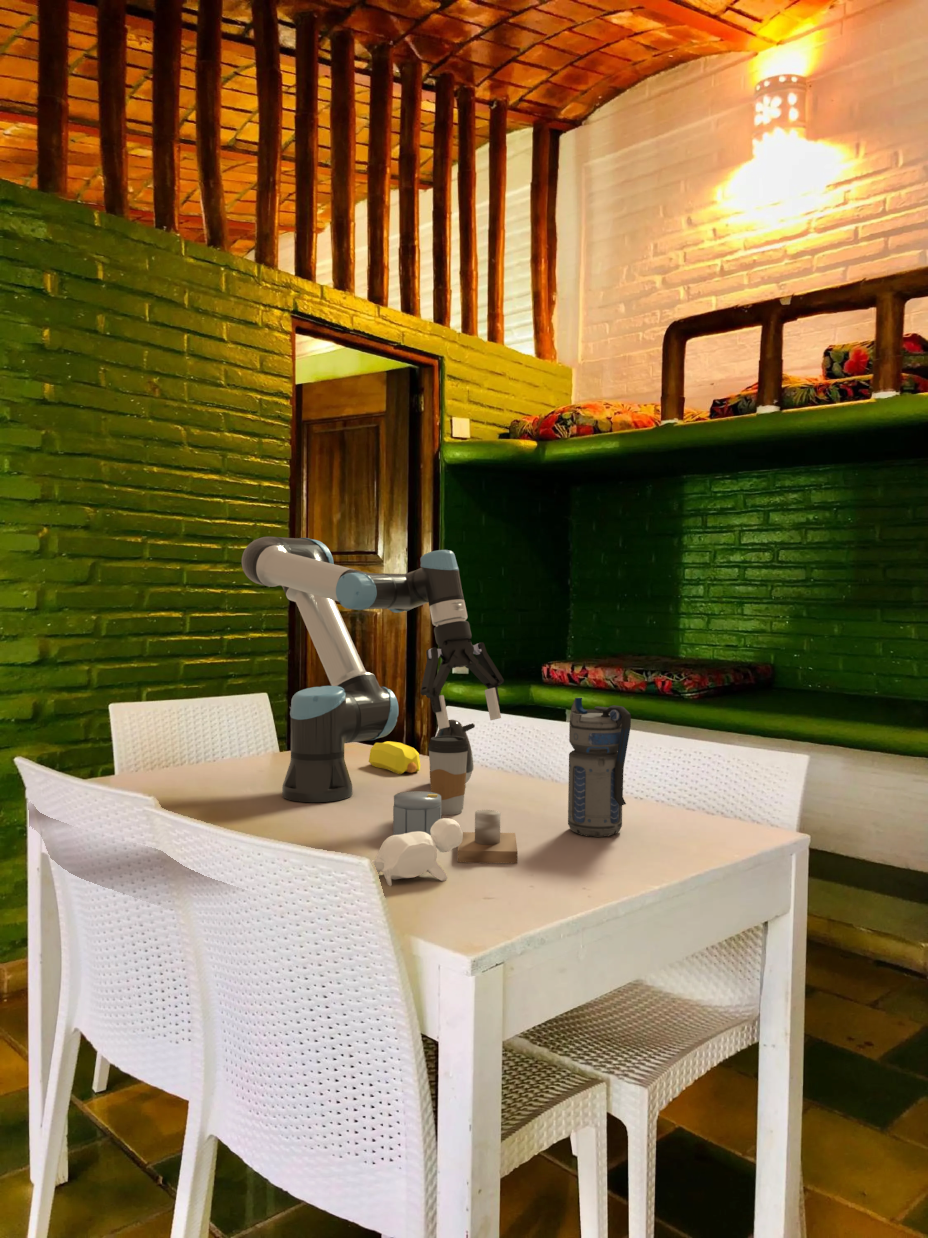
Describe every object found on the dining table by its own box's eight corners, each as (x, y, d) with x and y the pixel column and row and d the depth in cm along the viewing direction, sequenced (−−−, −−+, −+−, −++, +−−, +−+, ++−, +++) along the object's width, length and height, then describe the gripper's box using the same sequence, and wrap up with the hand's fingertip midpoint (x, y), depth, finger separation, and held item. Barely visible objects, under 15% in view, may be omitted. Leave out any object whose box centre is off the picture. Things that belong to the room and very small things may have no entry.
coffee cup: (474, 809, 200) (475, 737, 199) (457, 818, 192) (458, 743, 192) (438, 805, 203) (439, 734, 203) (420, 813, 196) (420, 739, 195)
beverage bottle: (609, 844, 174) (611, 706, 173) (554, 830, 184) (555, 699, 183) (643, 834, 181) (645, 701, 180) (588, 821, 191) (590, 695, 190)
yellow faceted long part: (401, 777, 233) (427, 774, 237) (401, 750, 232) (427, 747, 237) (362, 765, 247) (388, 762, 252) (362, 739, 247) (388, 737, 251)
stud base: (457, 862, 162) (458, 821, 161) (459, 843, 174) (459, 804, 173) (517, 863, 162) (517, 821, 161) (515, 844, 174) (515, 805, 173)
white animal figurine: (400, 907, 148) (480, 860, 155) (381, 859, 147) (463, 813, 153) (379, 891, 156) (457, 847, 162) (361, 845, 154) (440, 802, 160)
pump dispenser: (474, 790, 219) (474, 723, 218) (428, 789, 219) (428, 722, 218) (474, 780, 229) (475, 716, 228) (430, 780, 229) (431, 716, 228)
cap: (391, 839, 176) (391, 799, 175) (395, 827, 184) (396, 789, 184) (439, 840, 175) (440, 800, 175) (441, 828, 184) (442, 789, 184)
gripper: (411, 623, 192) (432, 729, 189) (507, 615, 207) (527, 713, 204) (391, 631, 197) (411, 734, 194) (485, 623, 213) (505, 718, 210)
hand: (470, 723), depth 199 cm, fingers open, 13 cm apart
